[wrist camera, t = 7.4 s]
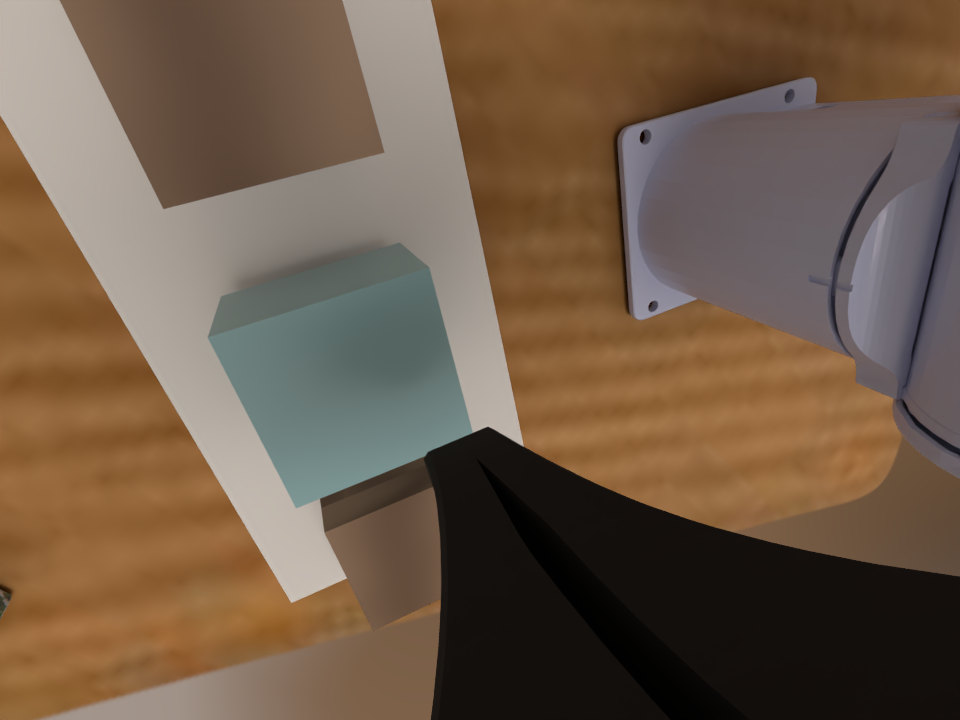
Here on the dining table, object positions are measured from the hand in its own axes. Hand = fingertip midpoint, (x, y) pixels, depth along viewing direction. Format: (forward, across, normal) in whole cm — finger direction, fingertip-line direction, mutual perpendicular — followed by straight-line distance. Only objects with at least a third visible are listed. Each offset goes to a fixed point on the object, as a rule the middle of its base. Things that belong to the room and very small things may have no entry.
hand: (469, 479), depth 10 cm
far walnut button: (+9, +1, +7) cm, 11 cm away
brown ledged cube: (+9, +1, -8) cm, 12 cm away
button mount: (+10, +1, 0) cm, 10 cm away
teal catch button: (+7, +1, -1) cm, 7 cm away
